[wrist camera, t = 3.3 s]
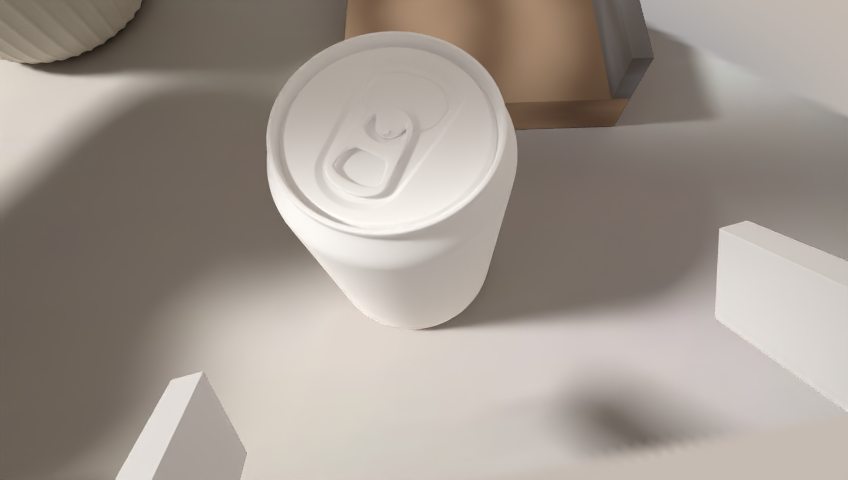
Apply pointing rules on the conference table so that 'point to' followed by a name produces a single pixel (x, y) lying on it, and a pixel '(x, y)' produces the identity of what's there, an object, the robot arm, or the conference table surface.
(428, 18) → the shelf board
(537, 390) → the conference table surface
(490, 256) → the beverage can
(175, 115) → the conference table surface
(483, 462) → the conference table surface
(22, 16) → the canister
